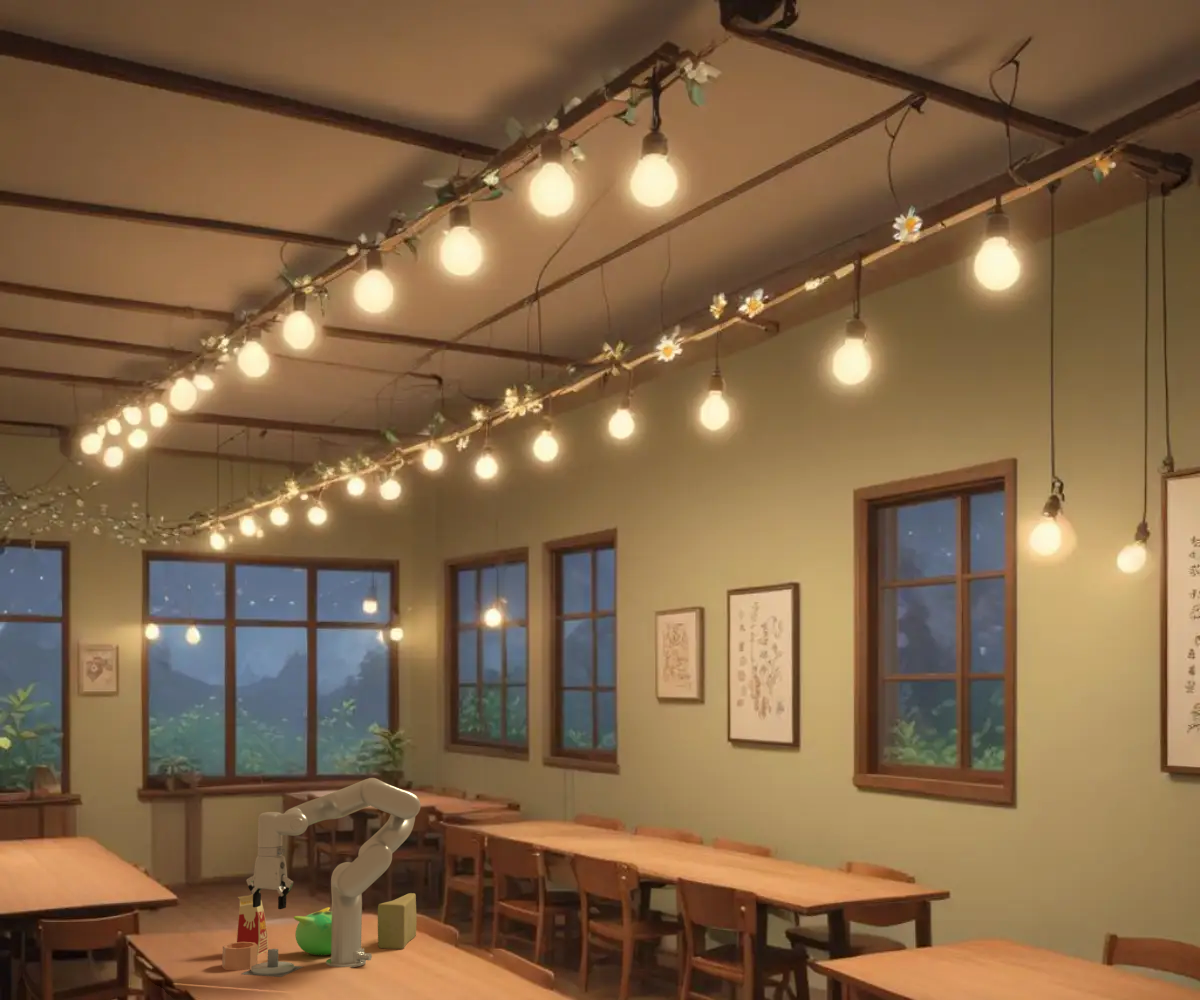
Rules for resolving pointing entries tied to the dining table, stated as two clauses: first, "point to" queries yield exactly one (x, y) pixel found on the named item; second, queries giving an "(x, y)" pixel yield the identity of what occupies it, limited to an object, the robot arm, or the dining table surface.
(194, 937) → the dining table surface
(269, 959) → the lid
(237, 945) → the bowl
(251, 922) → the milk carton
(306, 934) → the toy bird
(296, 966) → the mat
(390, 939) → the olive green block
